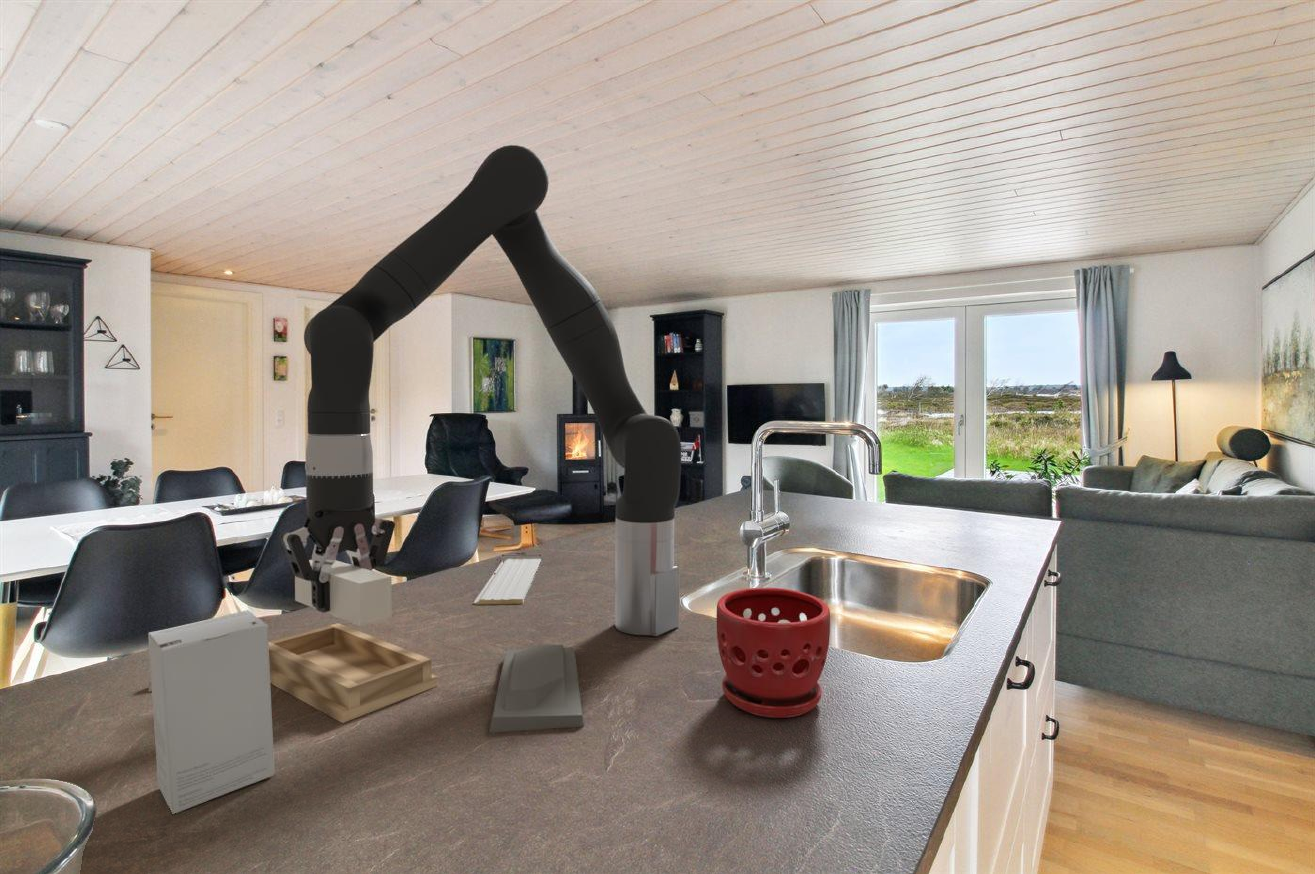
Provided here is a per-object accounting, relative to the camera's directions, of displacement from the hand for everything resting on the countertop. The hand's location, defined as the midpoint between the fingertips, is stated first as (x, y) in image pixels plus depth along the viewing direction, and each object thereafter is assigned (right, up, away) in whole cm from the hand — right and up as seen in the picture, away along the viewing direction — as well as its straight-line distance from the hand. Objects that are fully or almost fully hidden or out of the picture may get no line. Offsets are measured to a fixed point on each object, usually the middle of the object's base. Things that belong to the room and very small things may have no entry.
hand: (341, 605), depth 83 cm
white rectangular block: (0, 0, 0) cm, 0 cm away
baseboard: (+10, -8, +47) cm, 49 cm away
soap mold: (+25, -11, -2) cm, 27 cm away
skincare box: (-1, -11, -23) cm, 25 cm away
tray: (0, -9, 0) cm, 9 cm away
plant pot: (+53, -10, -5) cm, 54 cm away
